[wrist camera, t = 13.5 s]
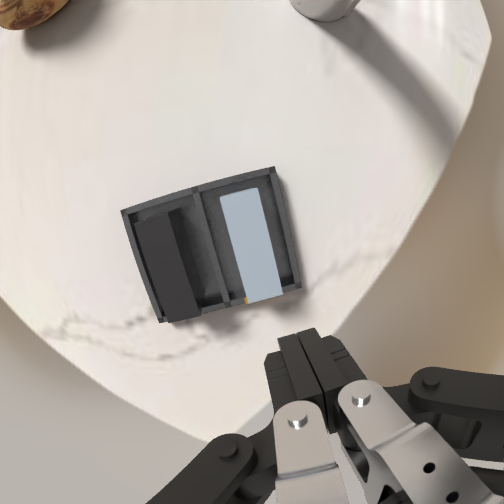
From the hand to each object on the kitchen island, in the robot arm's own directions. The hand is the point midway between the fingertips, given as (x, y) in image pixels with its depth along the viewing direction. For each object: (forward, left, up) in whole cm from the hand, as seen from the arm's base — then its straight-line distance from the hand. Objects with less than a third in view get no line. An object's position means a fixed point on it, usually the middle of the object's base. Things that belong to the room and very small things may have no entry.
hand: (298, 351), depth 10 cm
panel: (0, 0, -26) cm, 26 cm away
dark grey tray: (+5, 0, -27) cm, 27 cm away
